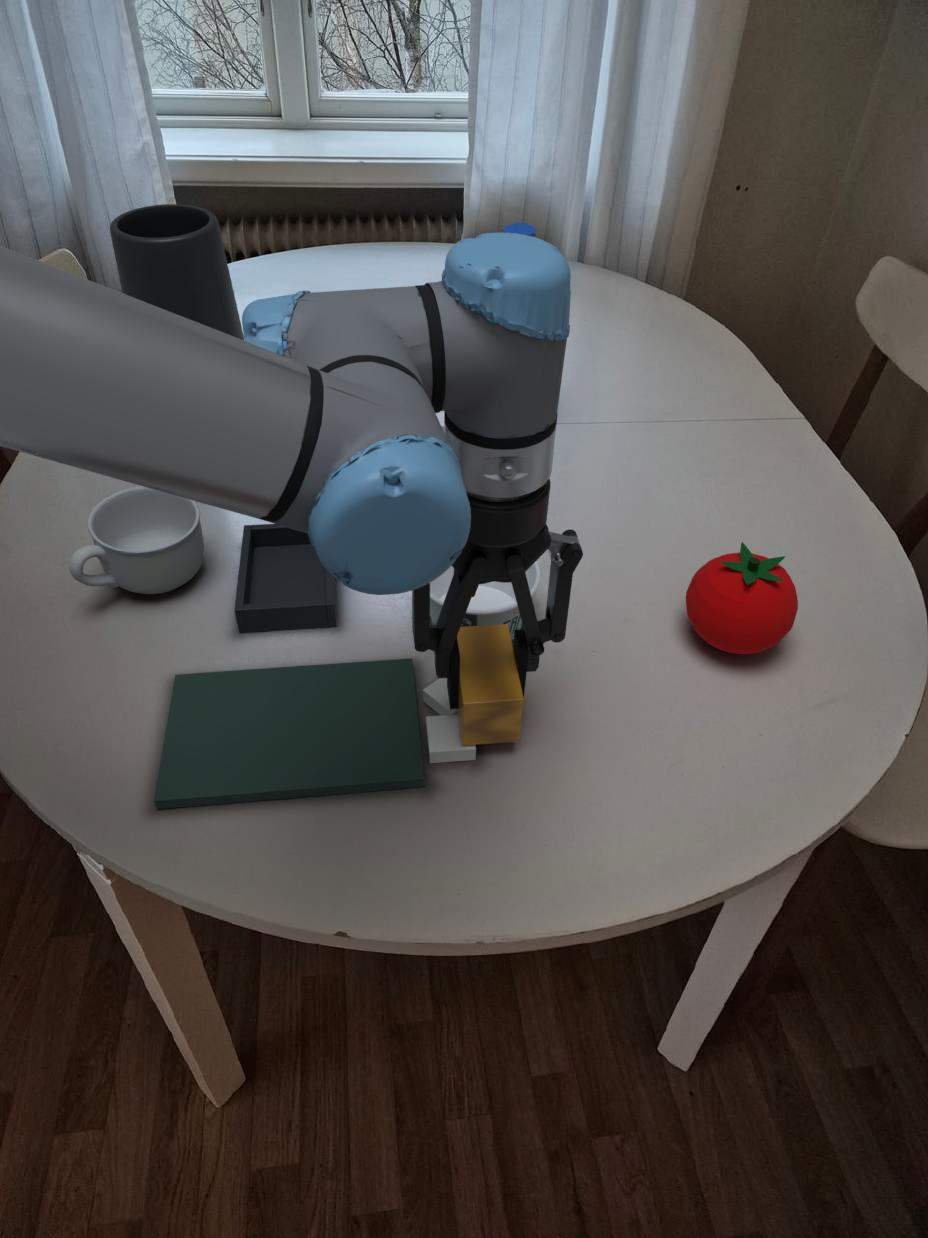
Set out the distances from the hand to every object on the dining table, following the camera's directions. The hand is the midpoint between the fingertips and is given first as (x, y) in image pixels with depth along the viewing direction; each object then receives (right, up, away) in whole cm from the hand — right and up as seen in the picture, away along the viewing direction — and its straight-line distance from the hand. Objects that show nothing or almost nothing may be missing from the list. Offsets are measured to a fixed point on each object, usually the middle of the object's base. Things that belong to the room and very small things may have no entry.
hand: (484, 694), depth 76 cm
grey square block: (-3, -4, 0) cm, 5 cm away
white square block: (-3, -1, +4) cm, 5 cm away
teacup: (-35, +10, +15) cm, 40 cm away
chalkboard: (-17, -3, +1) cm, 17 cm away
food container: (0, +6, +12) cm, 13 cm away
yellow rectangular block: (0, -1, +1) cm, 1 cm away
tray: (-20, +10, +15) cm, 27 cm away
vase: (-33, +26, +31) cm, 52 cm away
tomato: (+25, +5, +11) cm, 27 cm away
